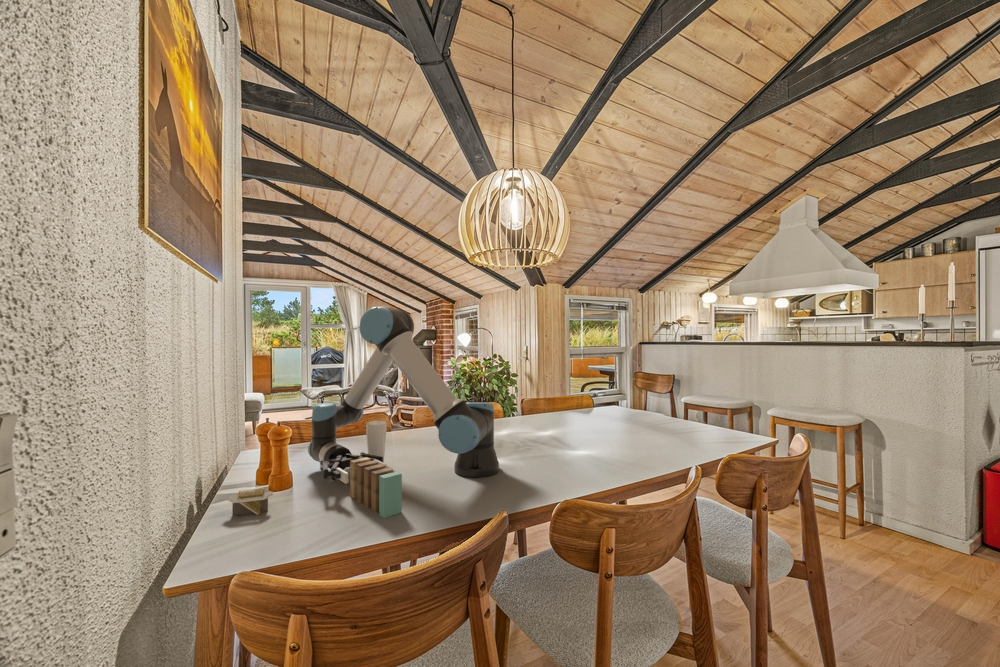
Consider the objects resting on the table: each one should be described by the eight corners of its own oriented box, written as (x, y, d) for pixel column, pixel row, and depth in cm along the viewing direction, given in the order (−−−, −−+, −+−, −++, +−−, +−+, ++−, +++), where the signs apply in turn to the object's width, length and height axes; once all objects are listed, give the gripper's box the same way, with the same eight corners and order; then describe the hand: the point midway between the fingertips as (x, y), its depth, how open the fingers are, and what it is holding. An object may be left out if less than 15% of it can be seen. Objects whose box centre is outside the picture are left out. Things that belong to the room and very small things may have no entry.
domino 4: (388, 504, 109) (388, 467, 110) (393, 507, 108) (393, 469, 108) (371, 510, 106) (371, 471, 106) (375, 512, 104) (375, 473, 104)
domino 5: (396, 509, 106) (397, 471, 106) (401, 512, 105) (401, 473, 105) (379, 515, 103) (379, 475, 103) (383, 518, 101) (383, 478, 101)
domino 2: (373, 495, 116) (373, 460, 116) (377, 497, 114) (377, 462, 114) (356, 500, 112) (356, 464, 112) (360, 502, 111) (360, 466, 111)
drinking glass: (370, 469, 139) (370, 425, 139) (363, 464, 144) (363, 422, 144) (389, 465, 143) (389, 422, 143) (381, 460, 148) (381, 419, 148)
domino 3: (380, 499, 113) (381, 463, 113) (385, 502, 111) (385, 465, 111) (363, 505, 109) (363, 467, 109) (367, 507, 107) (367, 469, 108)
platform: (285, 521, 101) (285, 494, 101) (198, 532, 95) (199, 504, 95) (292, 502, 112) (292, 478, 112) (215, 511, 106) (215, 486, 106)
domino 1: (366, 491, 119) (366, 457, 119) (370, 493, 117) (370, 458, 117) (350, 495, 116) (350, 460, 116) (353, 498, 114) (353, 462, 114)
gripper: (369, 460, 137) (403, 477, 121) (296, 477, 121) (324, 498, 105) (369, 438, 137) (403, 452, 121) (297, 452, 122) (324, 469, 106)
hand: (366, 473), depth 113 cm, fingers open, 10 cm apart
